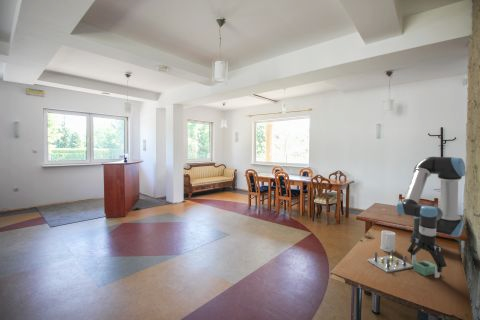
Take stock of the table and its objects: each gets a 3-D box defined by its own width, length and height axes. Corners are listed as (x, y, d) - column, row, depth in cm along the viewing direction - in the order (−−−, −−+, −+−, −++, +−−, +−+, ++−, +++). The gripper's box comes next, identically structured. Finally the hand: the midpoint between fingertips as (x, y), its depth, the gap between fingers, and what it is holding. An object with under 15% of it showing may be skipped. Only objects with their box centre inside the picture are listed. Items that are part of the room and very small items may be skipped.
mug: (391, 255, 153) (392, 237, 152) (377, 250, 159) (377, 233, 158) (396, 249, 161) (397, 232, 160) (382, 245, 167) (383, 229, 166)
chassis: (391, 256, 151) (392, 247, 150) (413, 267, 137) (414, 257, 137) (367, 260, 145) (367, 251, 144) (387, 272, 131) (387, 262, 131)
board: (425, 267, 137) (426, 259, 137) (437, 273, 132) (437, 264, 131) (413, 270, 134) (413, 262, 134) (424, 276, 129) (425, 267, 128)
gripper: (401, 227, 142) (399, 261, 143) (447, 243, 119) (444, 284, 120) (410, 226, 144) (408, 260, 146) (457, 241, 121) (454, 282, 122)
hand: (424, 271), depth 133 cm, fingers open, 12 cm apart
